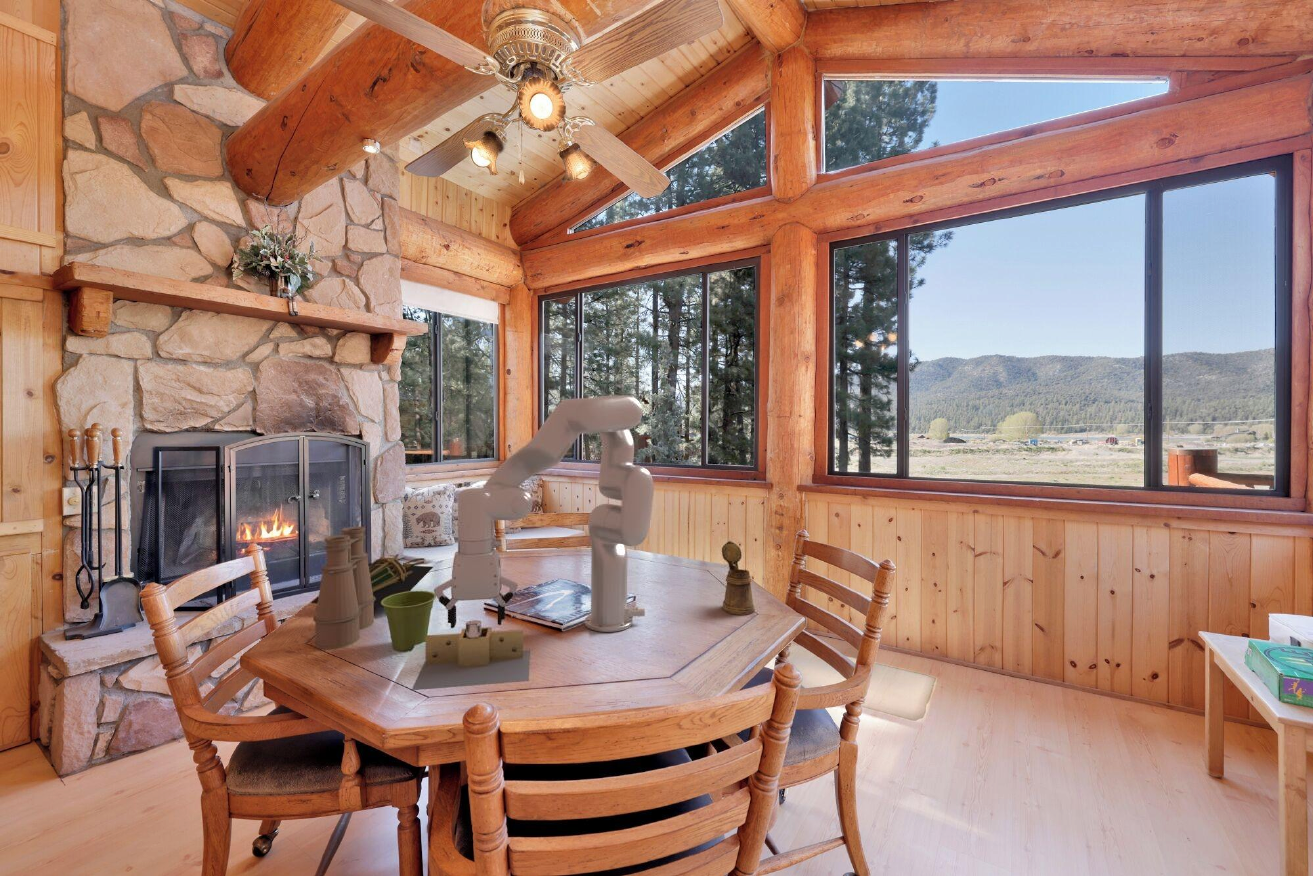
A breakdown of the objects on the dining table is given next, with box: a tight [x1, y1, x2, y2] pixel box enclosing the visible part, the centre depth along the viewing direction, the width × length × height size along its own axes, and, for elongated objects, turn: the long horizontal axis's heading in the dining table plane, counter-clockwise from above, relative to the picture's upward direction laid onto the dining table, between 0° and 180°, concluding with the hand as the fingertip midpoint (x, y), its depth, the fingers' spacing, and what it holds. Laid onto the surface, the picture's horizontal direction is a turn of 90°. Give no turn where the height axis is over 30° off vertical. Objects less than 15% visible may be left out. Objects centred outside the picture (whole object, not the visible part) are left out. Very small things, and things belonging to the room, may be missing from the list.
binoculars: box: [312, 526, 376, 650], centre depth 137 cm, size 21×10×25 cm, turn 10°
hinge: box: [425, 626, 524, 668], centre depth 120 cm, size 20×6×6 cm, turn 102°
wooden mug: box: [721, 540, 755, 616], centre depth 160 cm, size 9×14×18 cm, turn 11°
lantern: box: [310, 553, 434, 608], centre depth 164 cm, size 14×23×30 cm
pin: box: [465, 619, 482, 638], centre depth 120 cm, size 3×3×8 cm
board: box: [411, 649, 531, 691], centre depth 116 cm, size 22×15×1 cm
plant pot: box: [381, 590, 437, 652], centre depth 130 cm, size 12×12×11 cm
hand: (476, 624), depth 120 cm, fingers open, 9 cm apart
